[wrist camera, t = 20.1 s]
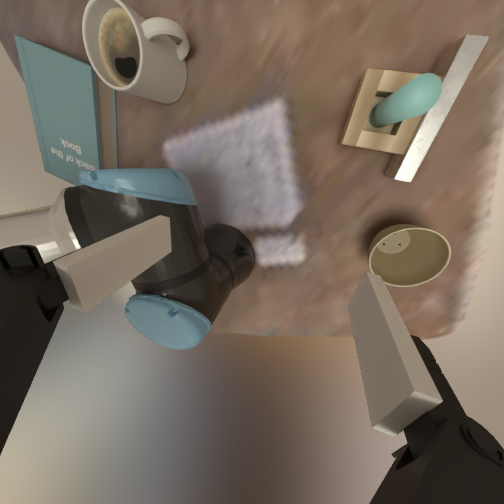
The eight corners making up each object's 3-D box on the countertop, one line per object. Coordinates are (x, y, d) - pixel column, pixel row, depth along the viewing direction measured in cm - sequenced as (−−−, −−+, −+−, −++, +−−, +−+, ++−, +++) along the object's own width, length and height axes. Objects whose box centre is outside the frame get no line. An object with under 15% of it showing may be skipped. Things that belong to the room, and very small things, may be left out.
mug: (140, 94, 36) (85, 77, 27) (142, 20, 31) (75, -28, 22) (193, 116, 35) (153, 105, 27) (203, 44, 30) (159, 3, 22)
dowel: (364, 125, 28) (392, 113, 18) (375, 99, 27) (412, 70, 17) (386, 129, 28) (427, 119, 18) (398, 103, 26) (451, 76, 16)
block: (339, 144, 31) (341, 143, 28) (361, 78, 27) (367, 68, 24) (393, 153, 30) (403, 154, 26) (425, 85, 26) (442, 76, 22)
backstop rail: (383, 174, 31) (394, 178, 27) (440, 54, 24) (466, 34, 20) (397, 177, 31) (410, 182, 27) (458, 56, 24) (489, 36, 19)
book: (120, 193, 48) (101, 197, 44) (65, 167, 49) (41, 169, 45) (117, 76, 36) (90, 66, 32) (44, 45, 37) (9, 32, 33)
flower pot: (348, 237, 37) (355, 254, 31) (404, 200, 32) (425, 212, 26) (380, 273, 38) (393, 297, 32) (439, 244, 33) (467, 265, 27)
